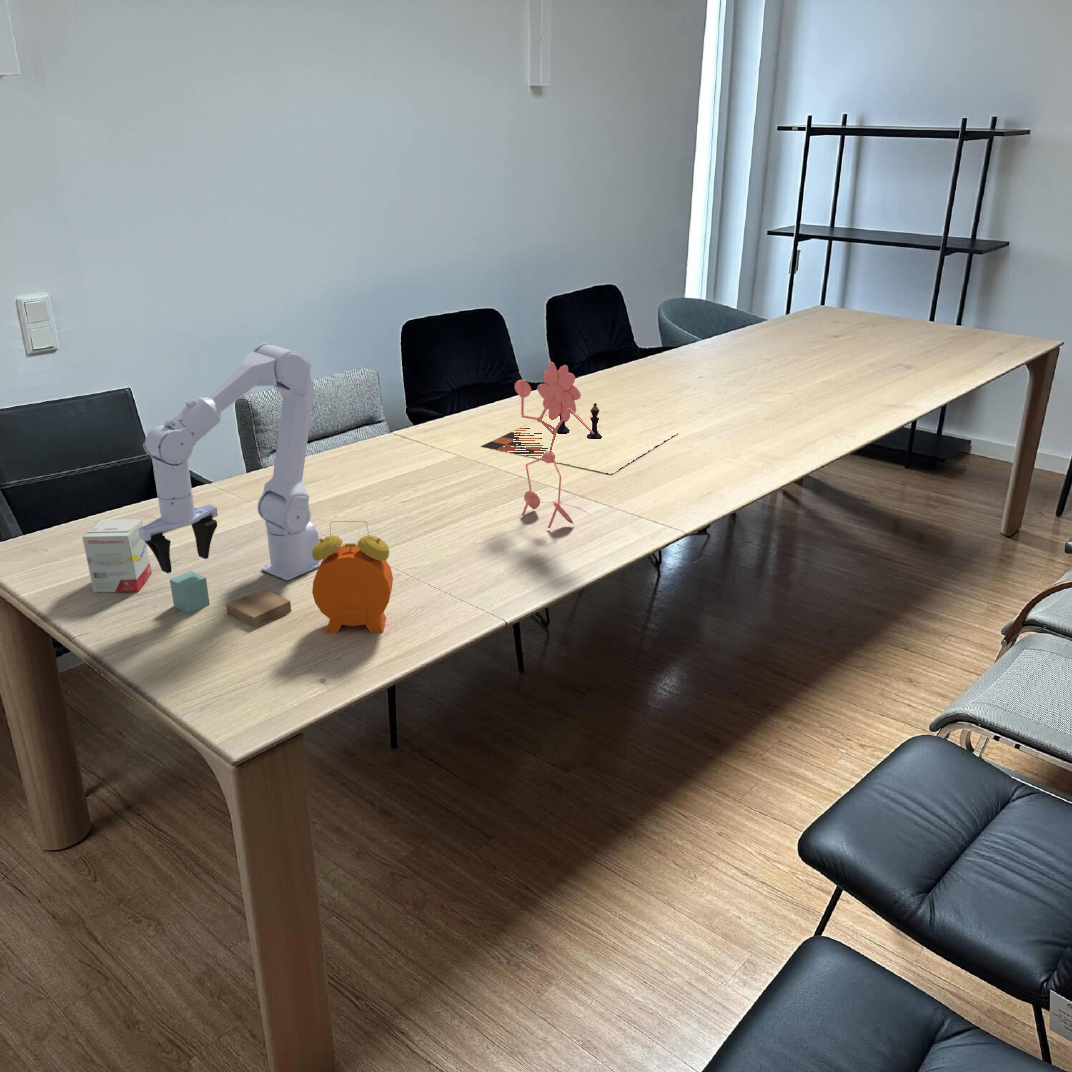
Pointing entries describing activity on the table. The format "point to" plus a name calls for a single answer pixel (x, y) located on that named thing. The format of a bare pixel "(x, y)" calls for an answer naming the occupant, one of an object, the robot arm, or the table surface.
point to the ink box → (116, 556)
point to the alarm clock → (352, 581)
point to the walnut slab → (258, 607)
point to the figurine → (558, 401)
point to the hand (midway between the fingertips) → (185, 564)
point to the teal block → (189, 591)
